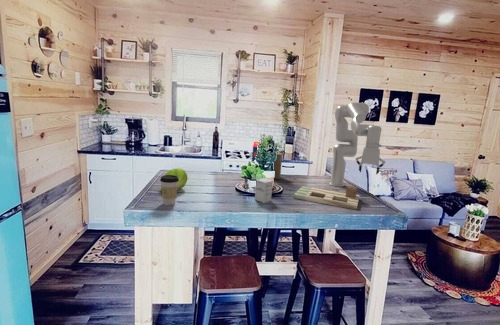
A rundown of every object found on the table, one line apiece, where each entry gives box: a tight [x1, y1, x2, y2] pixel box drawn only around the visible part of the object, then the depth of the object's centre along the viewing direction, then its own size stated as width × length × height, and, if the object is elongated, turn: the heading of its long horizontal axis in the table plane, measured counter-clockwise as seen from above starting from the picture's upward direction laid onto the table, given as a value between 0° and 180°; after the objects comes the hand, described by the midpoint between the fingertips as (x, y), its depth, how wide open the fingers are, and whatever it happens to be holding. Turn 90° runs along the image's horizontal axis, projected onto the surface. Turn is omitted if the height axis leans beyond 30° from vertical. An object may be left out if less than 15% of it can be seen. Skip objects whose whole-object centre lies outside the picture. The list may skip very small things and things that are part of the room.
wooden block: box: [274, 151, 283, 180], centre depth 239 cm, size 10×10×20 cm
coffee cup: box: [159, 174, 179, 206], centre depth 164 cm, size 10×10×15 cm
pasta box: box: [251, 141, 260, 162], centre depth 223 cm, size 28×8×28 cm, turn 178°
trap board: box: [293, 185, 360, 210], centre depth 194 cm, size 24×38×2 cm, turn 67°
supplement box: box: [254, 177, 274, 204], centre depth 180 cm, size 7×7×13 cm
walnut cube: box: [345, 185, 358, 198], centre depth 194 cm, size 6×6×6 cm
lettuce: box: [164, 168, 189, 190], centre depth 190 cm, size 15×20×14 cm
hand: (368, 172), depth 188 cm, fingers open, 9 cm apart
